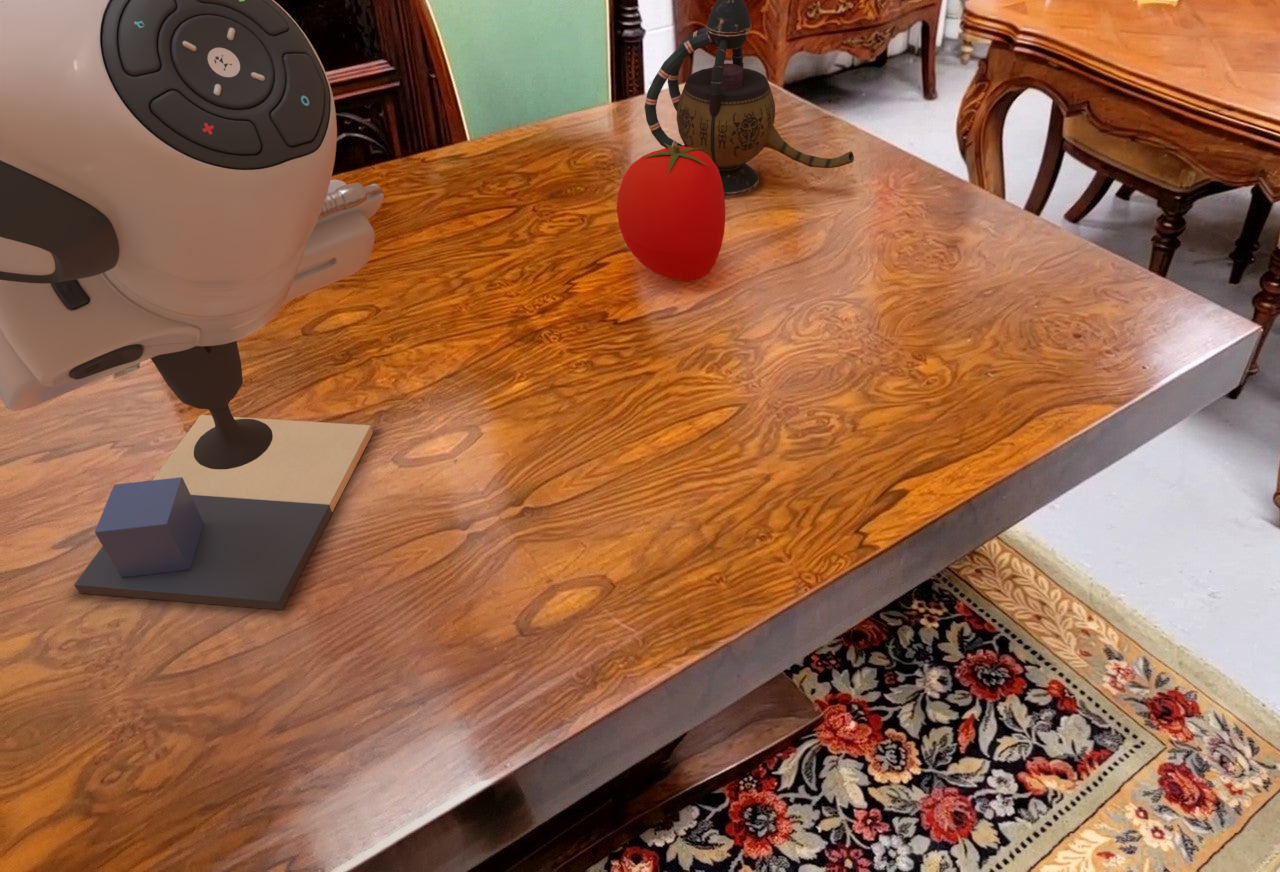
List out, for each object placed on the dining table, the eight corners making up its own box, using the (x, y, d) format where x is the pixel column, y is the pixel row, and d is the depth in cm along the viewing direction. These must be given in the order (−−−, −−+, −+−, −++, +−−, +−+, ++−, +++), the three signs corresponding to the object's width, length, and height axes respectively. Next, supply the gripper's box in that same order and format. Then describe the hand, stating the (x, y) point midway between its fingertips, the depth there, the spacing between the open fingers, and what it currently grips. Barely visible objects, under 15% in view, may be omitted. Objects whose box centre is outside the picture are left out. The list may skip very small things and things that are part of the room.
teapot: (671, 153, 127) (671, -33, 111) (856, 176, 120) (883, -18, 105) (642, 192, 118) (637, -4, 103) (840, 219, 112) (866, 14, 96)
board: (79, 593, 70) (73, 584, 69) (204, 422, 85) (200, 414, 84) (282, 610, 68) (278, 601, 68) (373, 433, 83) (370, 424, 83)
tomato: (748, 275, 102) (756, 151, 93) (669, 313, 97) (669, 186, 88) (674, 233, 110) (674, 115, 101) (596, 266, 105) (589, 144, 95)
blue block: (121, 578, 70) (94, 532, 66) (138, 530, 73) (113, 484, 70) (190, 570, 70) (166, 523, 67) (204, 522, 74) (182, 476, 71)
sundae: (204, 495, 57) (108, 284, 48) (165, 442, 61) (68, 237, 52) (304, 447, 61) (233, 240, 51) (260, 400, 65) (187, 199, 55)
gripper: (359, 124, 49) (316, 228, 61) (-79, 266, 39) (-27, 358, 51) (420, 230, 49) (366, 313, 61) (3, 398, 39) (35, 458, 51)
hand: (186, 334), depth 56 cm, fingers closed on sundae, 6 cm apart
